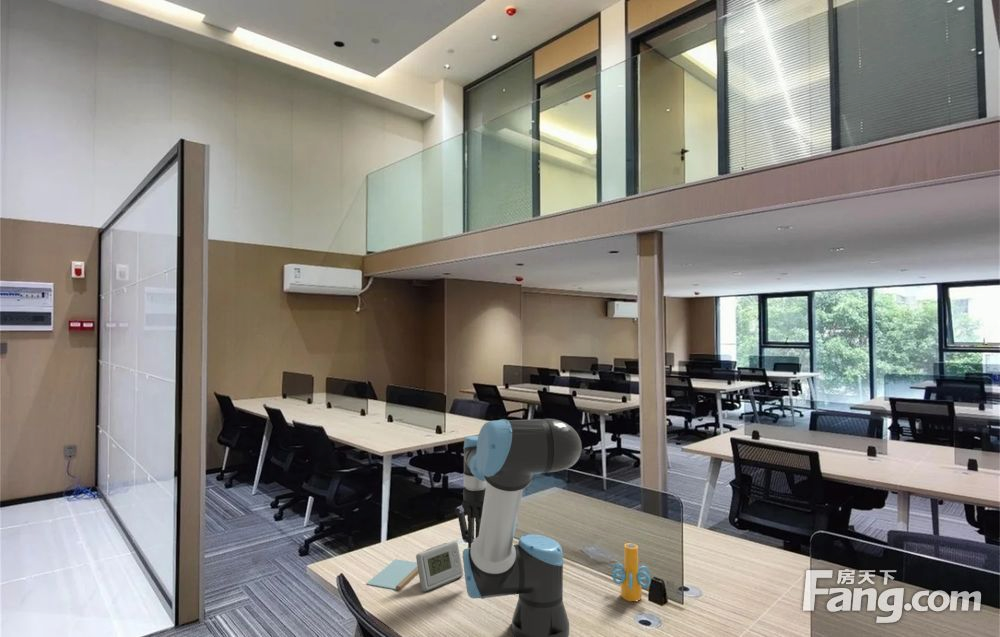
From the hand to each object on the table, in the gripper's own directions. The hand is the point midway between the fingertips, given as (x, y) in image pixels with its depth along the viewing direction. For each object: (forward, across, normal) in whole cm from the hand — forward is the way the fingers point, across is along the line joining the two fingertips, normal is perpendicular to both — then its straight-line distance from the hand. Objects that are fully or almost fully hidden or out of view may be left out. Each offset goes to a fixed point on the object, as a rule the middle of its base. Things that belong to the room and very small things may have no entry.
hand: (474, 563), depth 151 cm
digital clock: (+7, +11, +1) cm, 14 cm away
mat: (+7, +26, 0) cm, 27 cm away
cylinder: (+7, -46, -10) cm, 48 cm away
